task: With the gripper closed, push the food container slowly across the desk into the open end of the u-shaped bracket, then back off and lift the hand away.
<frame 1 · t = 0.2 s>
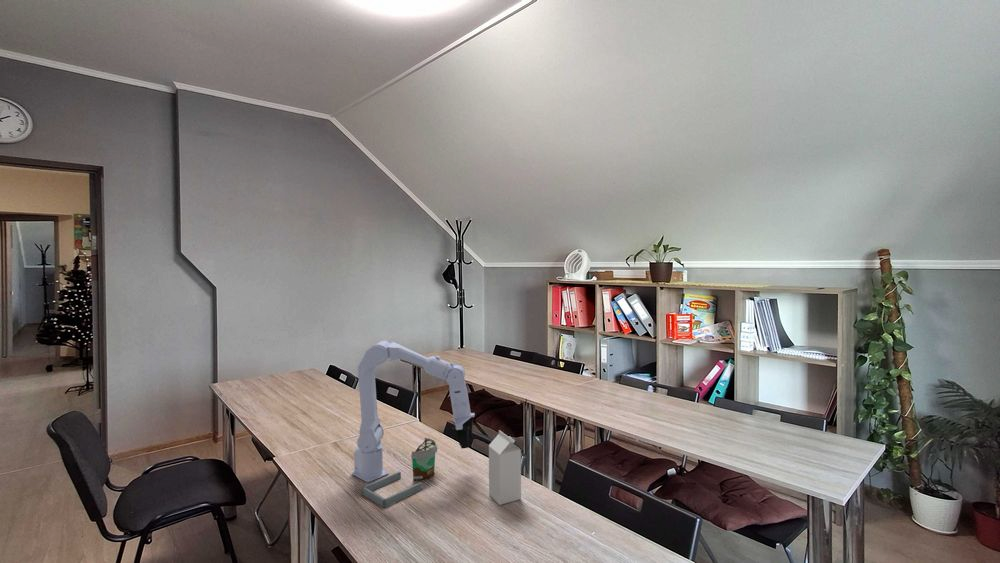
hand: (466, 442, 149), 10 cm above the table, tool pointing down, fingers open, 7 cm apart
food container: (427, 475, 149), on the table
milk carton: (504, 497, 135), on the table
u-shaped bracket: (392, 491, 139), on the table
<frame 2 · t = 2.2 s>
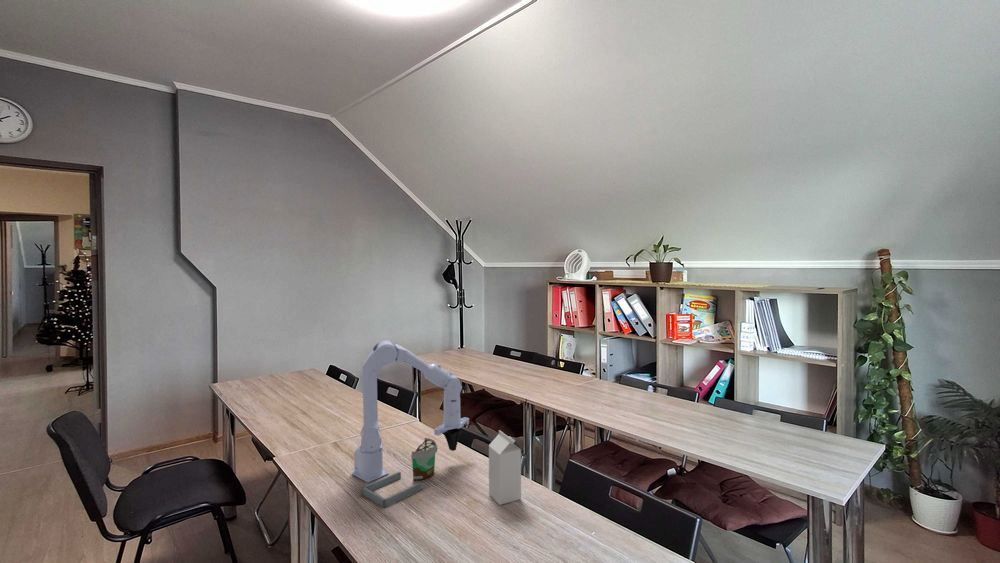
hand: (452, 449, 157), 5 cm above the table, tool pointing down, fingers closed
nothing on the table moved.
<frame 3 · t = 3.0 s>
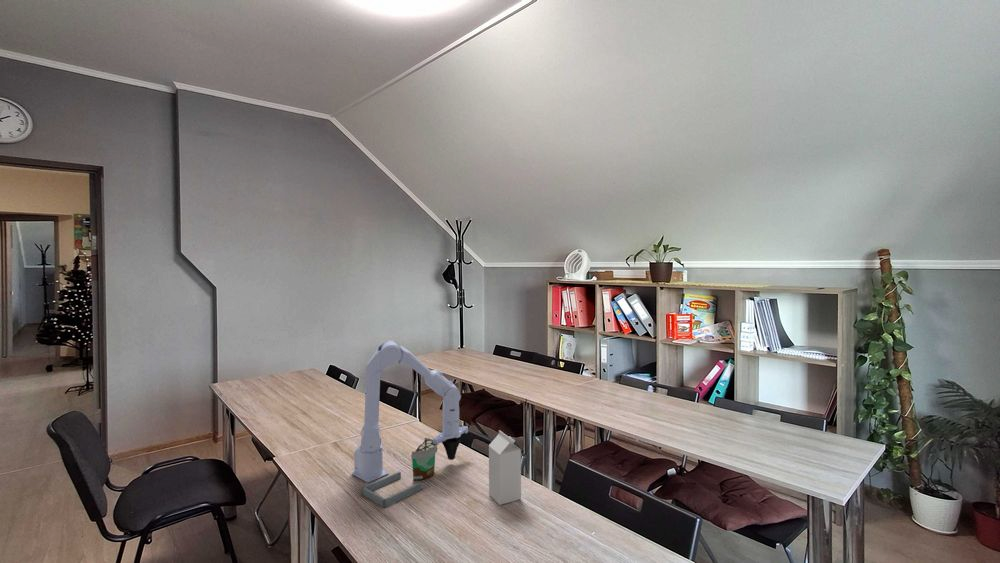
hand: (451, 458, 157), 2 cm above the table, tool pointing down, fingers closed
nothing on the table moved.
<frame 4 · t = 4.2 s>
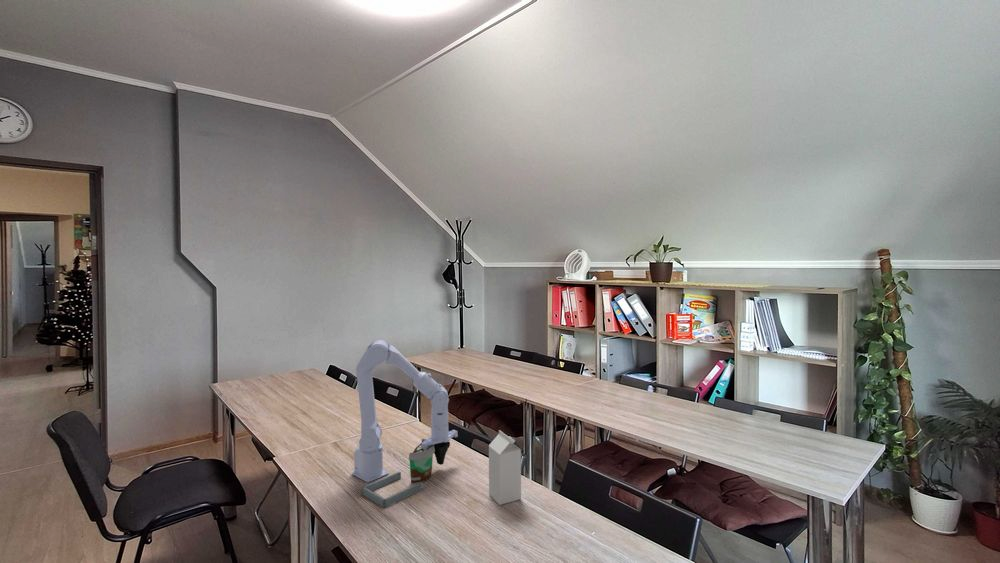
hand: (440, 463, 153), 2 cm above the table, tool pointing down, fingers closed
food container: (425, 476, 148), on the table, touching gripper
everything else where it was.
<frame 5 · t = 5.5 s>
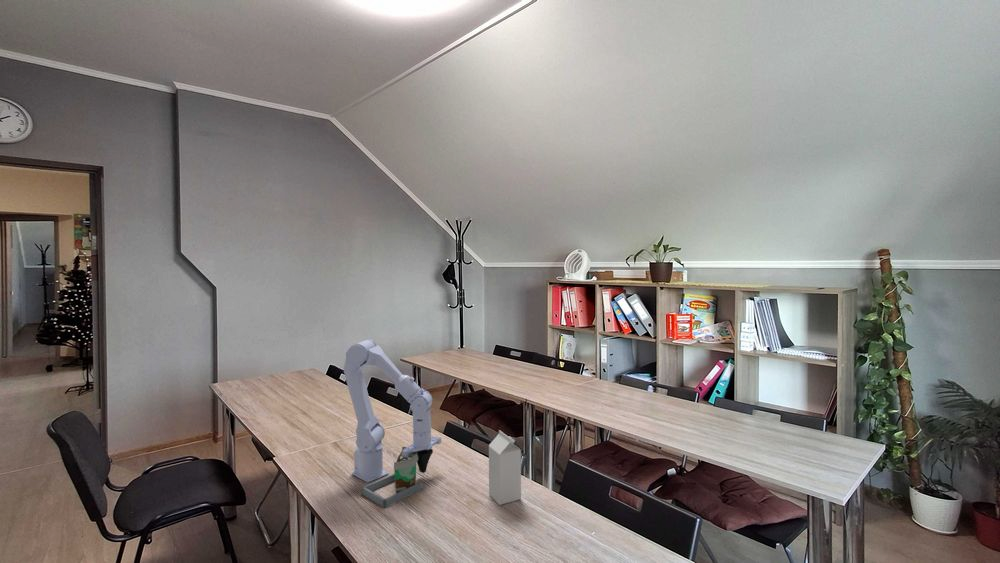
hand: (422, 471, 147), 2 cm above the table, tool pointing down, fingers closed
food container: (409, 485, 142), on the table, touching gripper
everything else where it was.
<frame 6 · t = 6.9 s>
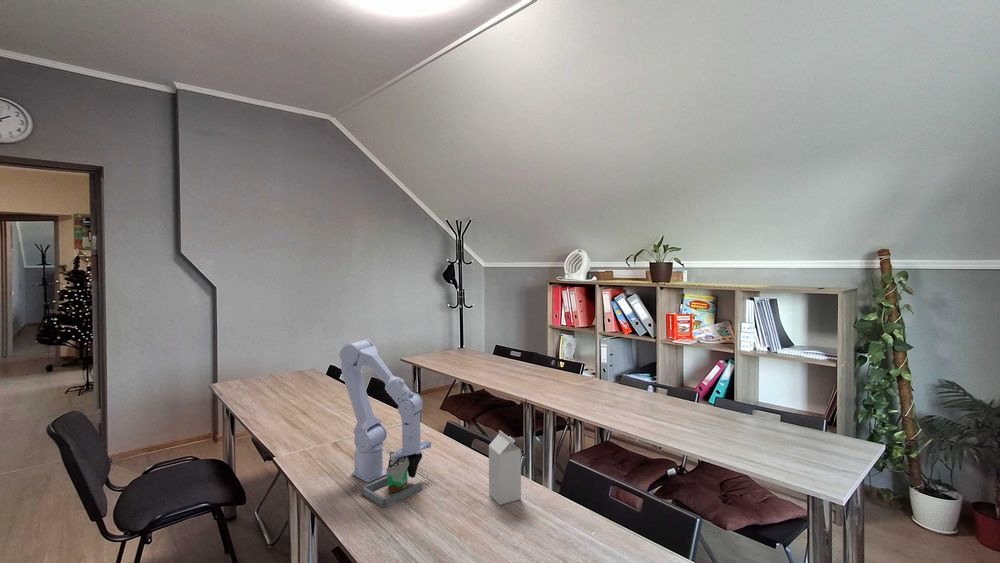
hand: (411, 476, 144), 2 cm above the table, tool pointing down, fingers closed
food container: (401, 491, 139), on the table, touching gripper
everything else where it was.
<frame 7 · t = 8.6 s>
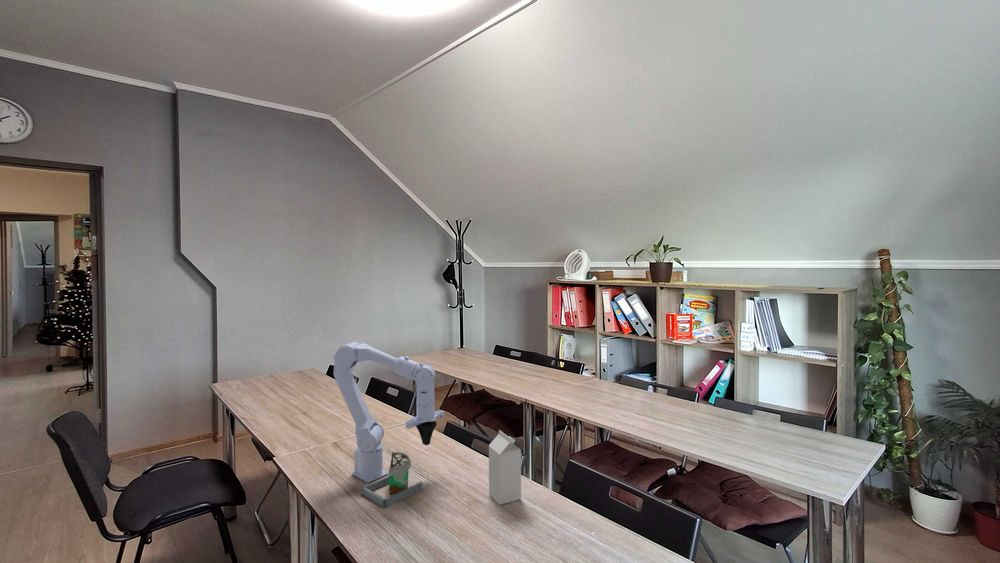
hand: (426, 444, 148), 10 cm above the table, tool pointing down, fingers closed
food container: (401, 491, 139), on the table
everything else where it was.
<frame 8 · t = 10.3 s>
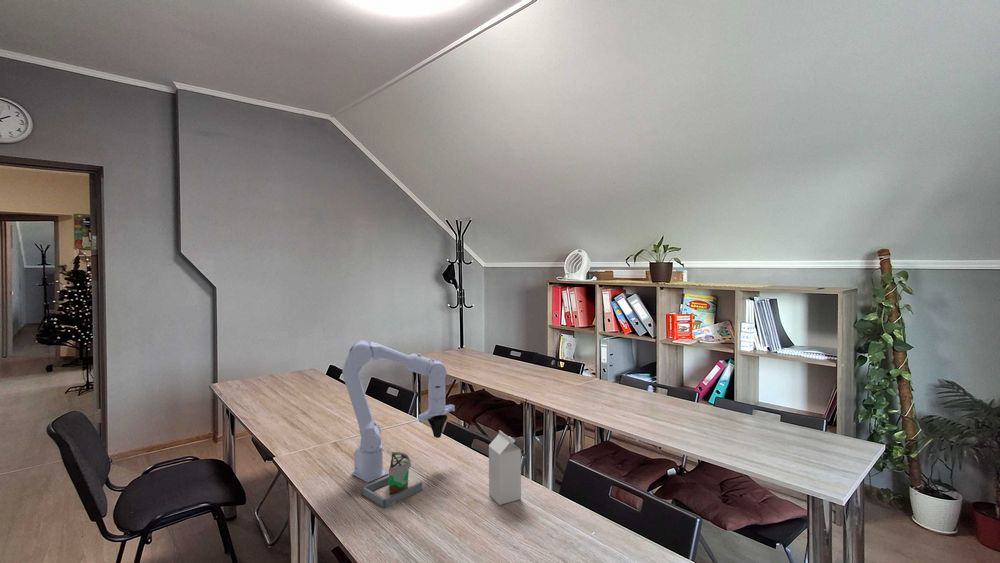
hand: (437, 436, 154), 10 cm above the table, tool pointing down, fingers closed
nothing on the table moved.
at the end: food container inside the target area on the u-shaped bracket (2.9 cm from its centre), point 0.0 cm above the u-shaped bracket's base; food container tilted 0°; food container moved 12.2 cm from its start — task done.
